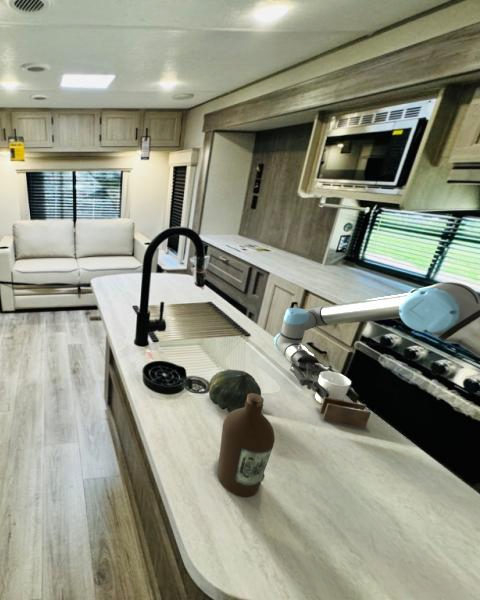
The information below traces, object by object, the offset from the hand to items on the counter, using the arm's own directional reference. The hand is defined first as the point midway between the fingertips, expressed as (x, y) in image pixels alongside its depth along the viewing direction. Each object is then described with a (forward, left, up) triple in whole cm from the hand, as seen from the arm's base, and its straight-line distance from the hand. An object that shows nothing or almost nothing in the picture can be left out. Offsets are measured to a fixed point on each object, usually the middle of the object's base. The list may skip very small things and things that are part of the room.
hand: (341, 398), depth 96 cm
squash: (+30, +7, -6) cm, 32 cm away
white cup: (+1, -5, -6) cm, 8 cm away
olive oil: (+30, +36, -6) cm, 48 cm away
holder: (0, +4, -6) cm, 7 cm away
